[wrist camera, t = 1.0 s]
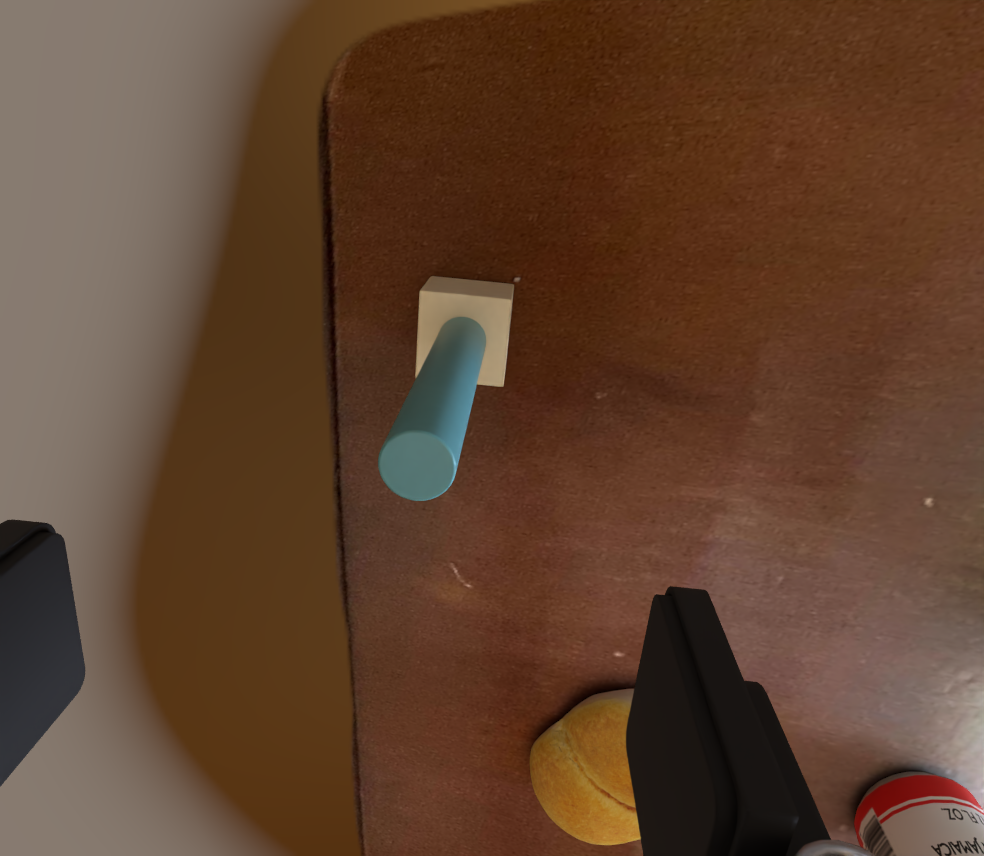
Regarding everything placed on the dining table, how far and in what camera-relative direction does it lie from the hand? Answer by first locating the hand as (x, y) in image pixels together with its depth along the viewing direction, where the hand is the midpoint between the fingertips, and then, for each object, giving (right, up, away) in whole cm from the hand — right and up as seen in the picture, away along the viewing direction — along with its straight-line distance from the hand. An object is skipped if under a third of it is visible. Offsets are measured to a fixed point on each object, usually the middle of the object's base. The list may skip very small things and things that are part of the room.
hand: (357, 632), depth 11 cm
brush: (+1, +8, +18) cm, 19 cm away
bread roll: (+9, -14, +26) cm, 31 cm away
